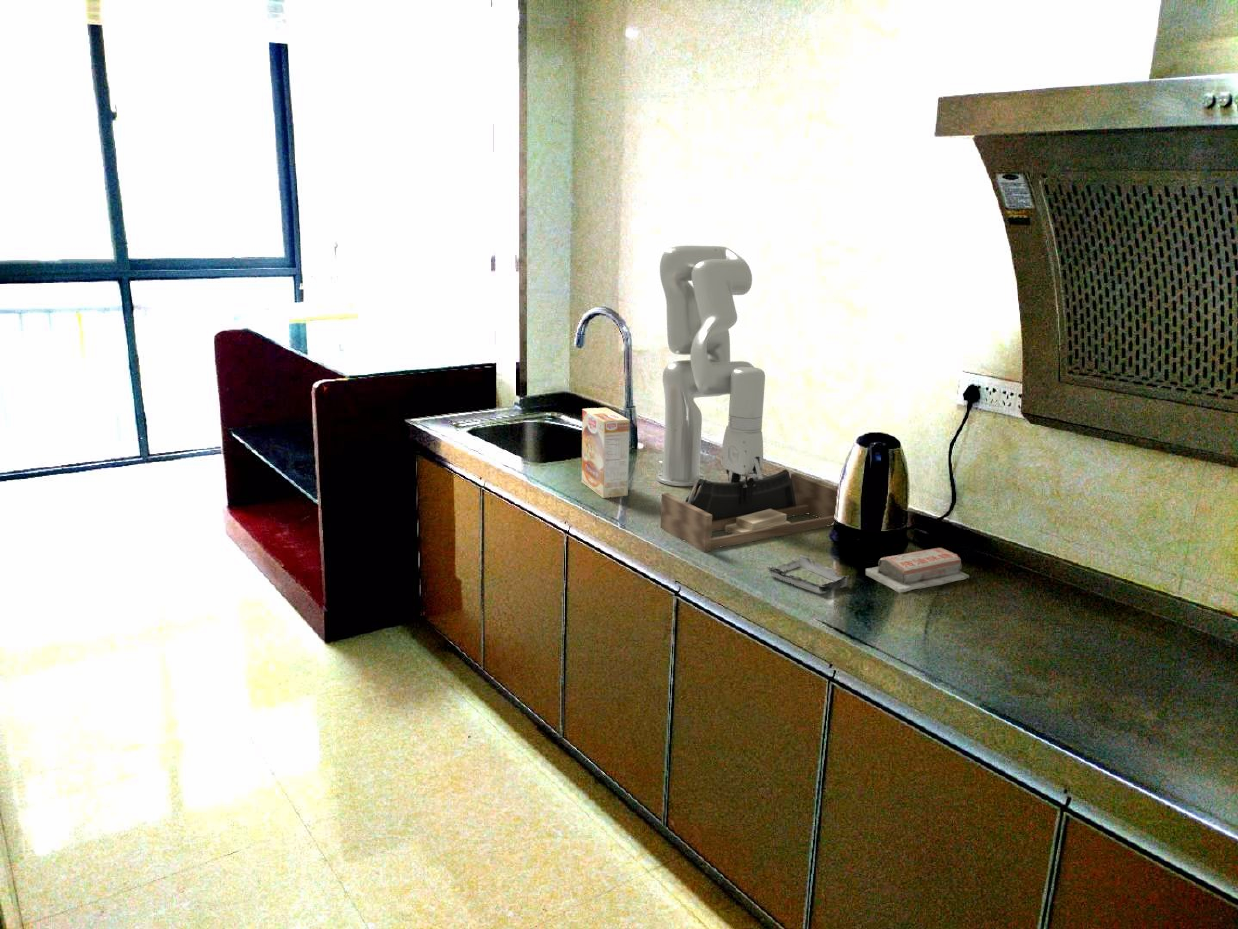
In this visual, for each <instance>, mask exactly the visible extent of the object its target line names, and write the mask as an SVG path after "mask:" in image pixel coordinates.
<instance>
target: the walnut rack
mask: <svg viewBox="0 0 1238 929" xmlns="http://www.w3.org/2000/svg"><path fill="white" fill-rule="evenodd" d="M790 478H791V480H792V484H793V490H794V496H795V502H796V506H795V507H789V508H784V509H778V510H775V511H778V512H781V513H784V514H787V517H788V518H790V517H789V516H793V515H799V516H803V515H802V514H804V515H807V514H806V513H809V514H808V515H810V514H811V515H810V516H812V515H815V516H817V517H820V518H817V517H815V516H814V517H815V518H812V519H806V520H802V521H796V522H790V524H784V525H779V526H774V527H768V528H763V529H758V530H752V531H747V532H742V533H737V534H731V533H730V534H728V535H727V534H726V535H721V536H716V537H712V532H716V531H715V530H717V531H720V529H722V530H725V525H729V524H734V523H736V519H737V517H733V518H727V519H721V520H716V521H712V515H711V514H709V513H707V512H705V511H703V510H701V509H699V508H697V507H695V506H693V505H691V504H689V503H687V502H685V501H686V500H682V498H681V499H680V498H678V497H677V496H674V495H673V494H670V493H669V492H663V493H661V500H660V501H661V504H660V507H661V508H660V527H659V528H660V529H661V528H662V530H663V529H664V530H663V531H665V532H667V533H669V534H671V535H672V534H673V536H674V535H675V536H674V537H676V538H678V539H679V538H680V540H681V541H683V540H685V541H686V542H685V541H684V542H685V543H687V542H688V543H689V545H690V544H691V545H690V546H692V547H694V546H695V547H694V548H696V549H697V548H698V549H697V550H699V549H700V550H699V551H701V552H702V553H708V552H709V551H710V552H711V550H713V549H712V548H714V549H716V548H715V547H720V546H725V547H728V546H734V545H739V543H740V544H744V543H749V542H754V541H760V540H764V539H770V538H771V539H772V538H774V537H775V536H776V537H780V536H785V534H786V535H789V534H790V535H791V534H795V533H796V534H797V533H801V532H800V531H802V532H805V531H804V530H807V531H811V530H810V529H812V530H815V529H814V528H817V529H821V528H820V527H822V528H826V527H825V526H827V525H831V524H832V523H833V522H834V514H835V506H836V496H837V489H838V488H837V487H834V486H831V485H828V484H826V483H823V482H820V481H818V480H815V479H812V478H810V477H807V476H805V475H801V474H799V473H797V472H794V473H791V474H790ZM738 517H741V516H738ZM793 517H794V516H793ZM827 527H828V526H827ZM711 531H712V532H711ZM776 537H775V538H776ZM688 543H687V544H688ZM720 548H721V547H720ZM710 552H709V553H710Z"/></svg>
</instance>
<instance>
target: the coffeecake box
mask: <svg viewBox="0 0 1238 929" xmlns="http://www.w3.org/2000/svg"><path fill="white" fill-rule="evenodd" d="M581 410H582V415H581V416H582V426H581V427H582V430H581V431H582V432H581V438H582V439H581V483H582V484H584V485H585V486H586V487H587V488H589V489H590V490H592V491H593V492H594V493H595V494H597V495H598V496H599V497H601V498H603V499H610V497H611V499H612V498H617V497H628V495H629V493H628V492H629V463H630V462H629V458H630V456H629V454H630V424H631V423H630V422H631V420H630V419H629V418H627V417H625V416H623V415H621V414H619V413H617V412H616V411H613V410H612V409H610V408H608V407H598V408H597V407H590V408H589V407H587V408H582V409H581Z"/></svg>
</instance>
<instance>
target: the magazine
mask: <svg viewBox="0 0 1238 929" xmlns="http://www.w3.org/2000/svg"><path fill="white" fill-rule="evenodd" d="M740 487H743V486H742V482H729V481H728V482H721V481H720V482H719V481H718V482H717V481H711V480H707V481H706V479H705V480H703V479H699V480H698V483H697V485H696V484H695V485H694V486H692V488H691V489H692V490H691V491H690V493H689V495H688V496H687V497H686V499H685V500H684V501H685V502H687V503H689V504H691V505H693V506H695V507H697V508H699V509H701V510H703V511H705V512H707V513H709V514H711V515H712V521H716V520H721V519H727V518H733V517H738V516H744V515H748V514H752V513H756V512H760V511H763V510H767V509H772V510H778V509H784V508H789V507H795V506H796V502H795V496H794V490H793V484H792V480H791V475H790V472H789V471H788V469H783V470H782V471H779V472H777V473H775V474H771V475H768V476H764V477H763V479H762V480H761V481H758V482H757V483H756V484H755V487H753V496H752V503H749V504H743V505H742V504H740V503H739V502H740Z"/></svg>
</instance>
